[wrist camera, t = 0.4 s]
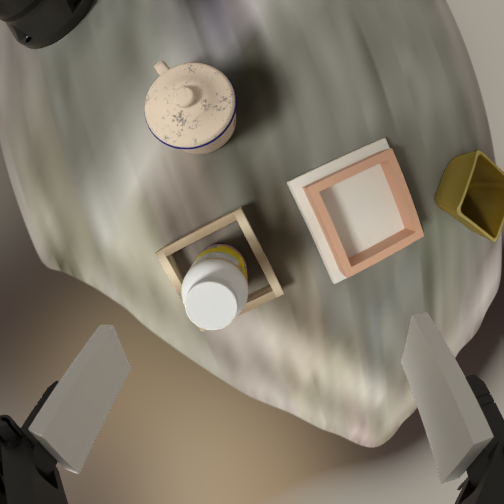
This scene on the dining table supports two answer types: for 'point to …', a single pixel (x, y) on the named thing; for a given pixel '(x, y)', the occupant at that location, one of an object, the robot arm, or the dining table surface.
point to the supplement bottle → (215, 287)
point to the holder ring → (238, 214)
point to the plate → (357, 209)
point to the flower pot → (473, 193)
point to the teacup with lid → (191, 107)
